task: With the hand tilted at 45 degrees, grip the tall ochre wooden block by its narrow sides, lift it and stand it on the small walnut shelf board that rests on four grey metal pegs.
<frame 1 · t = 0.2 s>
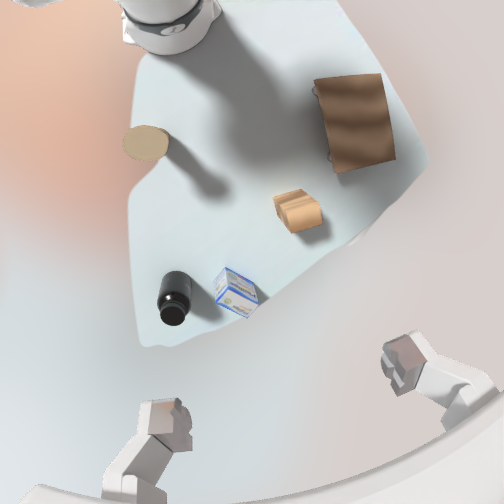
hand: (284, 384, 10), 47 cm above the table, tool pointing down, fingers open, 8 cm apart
ochre block: (289, 202, 57), on the table
walnut shelf: (346, 119, 51), on the table
supplement bottle: (176, 282, 61), on the table
handle: (161, 137, 47), on the table
medicine box: (233, 281, 63), on the table
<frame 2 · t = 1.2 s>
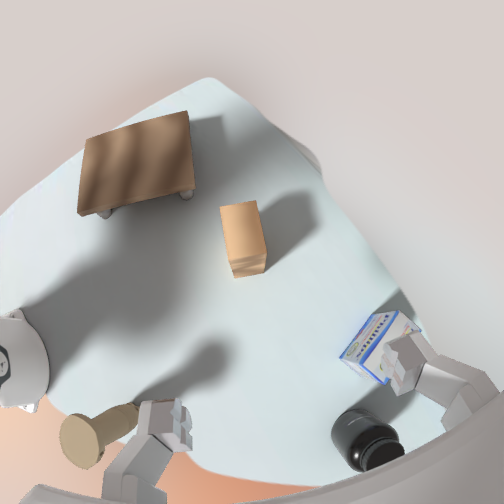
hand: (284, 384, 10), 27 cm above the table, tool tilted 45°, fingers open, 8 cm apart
ochre block: (245, 254, 39), on the table
walnut shelf: (144, 177, 43), on the table
supplement bottle: (351, 429, 32), on the table
handle: (134, 412, 33), on the table
medicine box: (365, 345, 36), on the table
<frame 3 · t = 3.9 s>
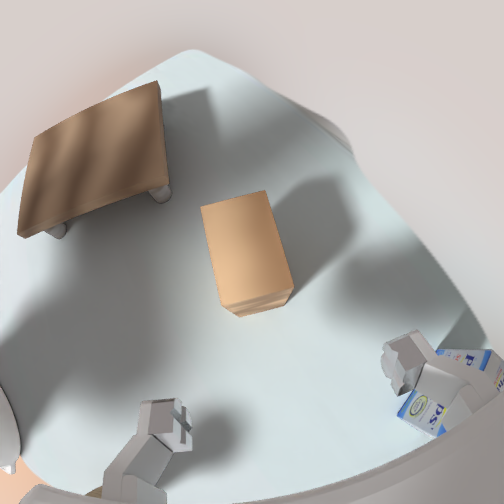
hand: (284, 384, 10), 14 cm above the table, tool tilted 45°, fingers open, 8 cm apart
ochre block: (253, 279, 25), on the table
walnut shelf: (106, 177, 30), on the table
handle: (120, 490, 19), on the table
medicine box: (429, 391, 21), on the table
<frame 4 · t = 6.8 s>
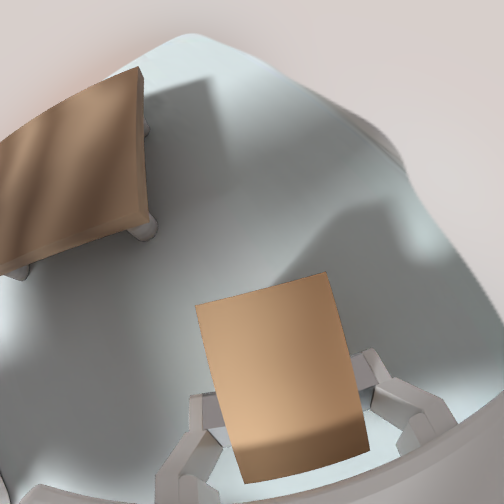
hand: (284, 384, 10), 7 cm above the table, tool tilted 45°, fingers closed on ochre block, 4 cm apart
ochre block: (277, 359, 17), on the table, touching gripper
walnut shelf: (74, 200, 21), on the table
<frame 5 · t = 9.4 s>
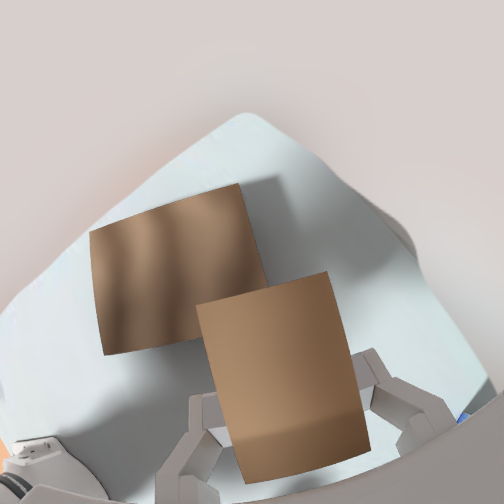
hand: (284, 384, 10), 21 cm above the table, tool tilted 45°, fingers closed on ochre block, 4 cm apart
ochre block: (277, 358, 17), point 13 cm above the table, touching gripper
walnut shelf: (184, 281, 33), on the table
when the fingers open (15 cm above the table, at t = 12.5 s): ochre block drops 1 cm, resting on walnut shelf.
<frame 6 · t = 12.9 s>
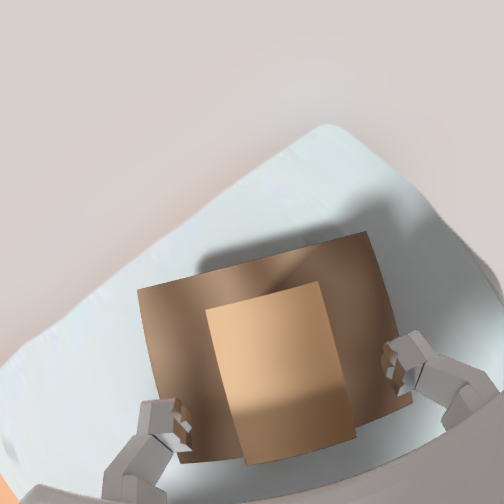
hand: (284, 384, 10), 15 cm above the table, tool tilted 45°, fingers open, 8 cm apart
ochre block: (276, 357, 18), point 6 cm above the table, touching walnut shelf
walnut shelf: (275, 351, 24), on the table
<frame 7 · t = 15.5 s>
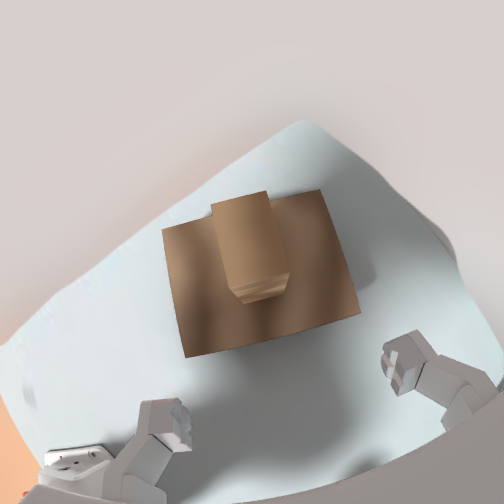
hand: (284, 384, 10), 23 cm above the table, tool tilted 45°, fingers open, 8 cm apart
ochre block: (256, 270, 28), point 6 cm above the table, touching walnut shelf
walnut shelf: (259, 281, 34), on the table
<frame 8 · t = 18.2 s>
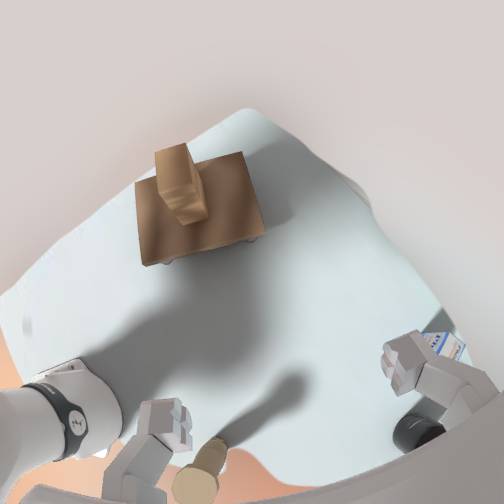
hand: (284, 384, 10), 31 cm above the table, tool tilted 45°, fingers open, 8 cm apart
ochre block: (192, 203, 40), point 6 cm above the table, touching walnut shelf
walnut shelf: (201, 219, 46), on the table
supplement bottle: (408, 430, 34), on the table
handle: (217, 444, 36), on the table
medicine box: (417, 359, 38), on the table
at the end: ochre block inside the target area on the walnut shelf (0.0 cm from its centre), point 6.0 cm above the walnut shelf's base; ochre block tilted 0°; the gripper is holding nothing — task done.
